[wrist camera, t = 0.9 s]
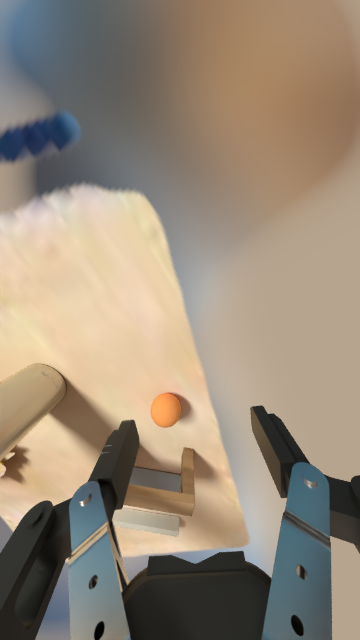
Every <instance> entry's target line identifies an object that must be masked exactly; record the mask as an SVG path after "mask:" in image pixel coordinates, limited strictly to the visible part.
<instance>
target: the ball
mask: <svg viewBox="0 0 360 640" xmlns="http://www.w3.org/2000/svg"><path fill="white" fill-rule="evenodd" d="M180 414H181V405H180V402H179V400H178V399H177V398H176V397H175V396H174V395H172V394H169V393H164V394H161V395H159V396H157V397H156V398H155V399H154V401H153V403H152V405H151V417H152V419H153V421H154V422H155V423H156V424H157V425H158V426H160V427H164V428H166V427H170V426H172V425H174V424H175V423H176V422H177V421H178V419H179V417H180Z"/></svg>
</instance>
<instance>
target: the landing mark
mask: <svg viewBox="0 0 360 640" xmlns="http://www.w3.org/2000/svg"><path fill="white" fill-rule="evenodd" d="M129 484H131V485H137V486H143V487H149V488H155V489H161V490H167V491H173V492H179V493H180V488H181V475H180V474H174V473H169V472H163V471H157V470H151V469H145V468H139V467H133V470H132V474H131V478H130V481H129ZM128 506H129V505H128ZM133 507H134V506H133ZM139 508H140V507H139ZM145 509H146V508H145ZM151 510H152V509H151ZM157 511H158V510H157ZM163 512H164V511H163ZM169 513H170V512H169Z"/></svg>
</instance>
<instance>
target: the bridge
mask: <svg viewBox="0 0 360 640" xmlns="http://www.w3.org/2000/svg"><path fill="white" fill-rule="evenodd" d="M123 505H129V506H134V507H140V508H146V509H152V510H158V511H164V512H170V513H176V514H182V515H188V516H192V513H193V509H194V506H195V493H194V460H193V449H190V448H184V450H183V454H182V464H181V493H179V492H173V491H167V490H161V489H155V488H149V487H143V486H137V485H131V484H129V485H128V489H127V493H126V496H125V500H124V504H123Z"/></svg>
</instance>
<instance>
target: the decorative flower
mask: <svg viewBox="0 0 360 640" xmlns="http://www.w3.org/2000/svg"><path fill="white" fill-rule="evenodd" d="M14 454H15V453H13V452H9V453H8V454H7V455H6V456H5V457H4V458H3V459H2V460H1V461H0V477H2V476H3V475H4V473H5V471H6V467H5V466H4V464H3V463H2V462H5V461H6V460H8V459H9V458H10V457H12V456H13V455H14Z"/></svg>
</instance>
